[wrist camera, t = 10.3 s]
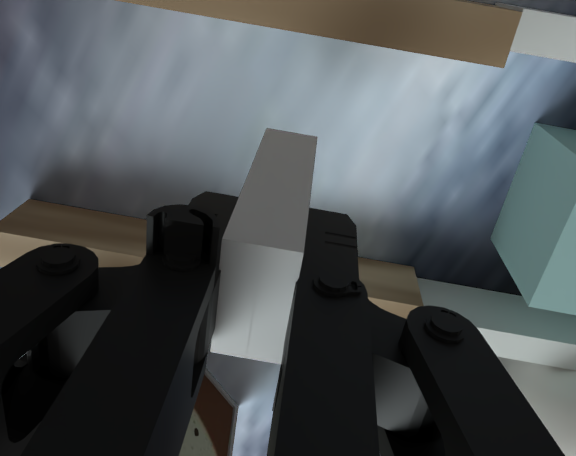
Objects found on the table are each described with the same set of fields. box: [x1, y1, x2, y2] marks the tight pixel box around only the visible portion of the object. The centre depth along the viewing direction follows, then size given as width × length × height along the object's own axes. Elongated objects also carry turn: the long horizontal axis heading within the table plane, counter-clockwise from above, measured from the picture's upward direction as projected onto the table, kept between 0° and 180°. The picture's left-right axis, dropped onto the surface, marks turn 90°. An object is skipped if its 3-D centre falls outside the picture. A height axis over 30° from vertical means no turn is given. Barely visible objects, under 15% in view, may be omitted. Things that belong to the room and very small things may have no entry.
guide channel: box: [0, 0, 523, 319], centre depth 19 cm, size 12×17×3 cm
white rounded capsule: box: [498, 357, 576, 456], centre depth 22 cm, size 6×6×6 cm
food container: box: [179, 369, 238, 456], centre depth 22 cm, size 12×6×10 cm, turn 32°
